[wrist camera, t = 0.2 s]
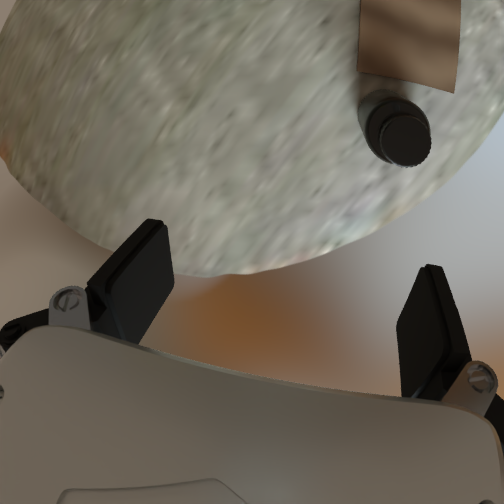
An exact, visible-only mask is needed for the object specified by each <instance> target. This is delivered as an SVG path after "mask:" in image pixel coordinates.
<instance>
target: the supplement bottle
mask: <svg viewBox="0 0 504 504" xmlns="http://www.w3.org/2000/svg"><path fill="white" fill-rule="evenodd" d="M358 121H359V124H360V127H361V130H362V132H363V134H364V137H365V139H366V142H367V144H368V146H369V148H370V149H371V151H372V152H373V153H374V154H375V155H376V156H377V157H378V158H380V159H381V160H383V161H385V162H387V163H390V164H395V165H396V166H400V167H406V168H408V167H413V166H417V165H418V164H421V162H423V161H424V160H425V158H427V156H428V154H429V153H430V149H431V144H432V143H431V137H430V135H431V131H430V125H429V122H428V119H427V117H426V115H425V114H424V112H423V111H422V110H421V109H420V108H419V107H418V106H417V105H416V104H414V103H413V102H411V101H410V100H408V99H406V98H405V97H403V96H402V95H400V94H398V93H396V92H394V91H391V90H376V91H373V92H371V93H370V94H368V95H367V96H366V97H365V98H364V99H363V100H362V102H361V104H360V106H359V110H358Z"/></svg>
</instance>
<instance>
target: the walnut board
mask: <svg viewBox="0 0 504 504" xmlns="http://www.w3.org/2000/svg"><path fill="white" fill-rule="evenodd" d="M460 21H461V0H361V1H360V28H359V45H358V60H357V71H358V72H364V73H370V74H376V75H381V76H386V77H391V78H396V79H400V80H405V81H409V82H413V83H417V84H421V85H425V86H429V87H433V88H436V89H440V90H443V91H447V92H450V93H453V94H454V90H455V82H456V74H457V64H458V54H459V40H460Z"/></svg>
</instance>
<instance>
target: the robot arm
mask: <svg viewBox="0 0 504 504" xmlns="http://www.w3.org/2000/svg"><path fill="white" fill-rule="evenodd" d="M87 285H88V286H87V287H86V288H85V290H84V289H83V288H81V287H79V286H68V287H65V288H62V289H60V290H59V291H57V292H56V293H55V294H54V295H53V296H52V298H51V299H50V302H49V308H48V309H44V310H41V311H38V312H35V313H32V314H29V315H26V316H23V317H20V318H17V319H14V320H12V321H9V322H8V323H6V324H5V325H4V326H3V328H2V329H1V331H0V504H504V400H503V399H501V397H500V396H499V395H497V394H496V392H497V388H498V379H497V376H496V374H495V372H494V371H493V369H492V368H491V367H490V366H489V365H487V364H485V363H484V362H481V361H472V358H471V354H470V350H469V346H468V343H467V339H466V335H465V332H464V328H463V325H462V322H461V318H460V316H459V312H458V309H457V307H456V305H455V302H454V299H453V296H452V293H451V290H450V287H449V284H448V281H447V279H446V276H445V273H444V271H443V268H442V267H441V266H437V265H431V264H426V266H425V267H421V268H420V270H419V272H418V275H417V277H416V280H415V282H414V285H413V287H412V290H411V292H410V294H409V296H408V299H407V301H406V303H405V305H404V308H403V310H402V312H401V314H400V316H399V318H398V321H397V325H396V332H397V341H398V352H399V364H400V377H401V393H402V394H401V395H402V397H396V396H387V395H378V394H369V393H361V392H353V391H345V390H338V389H331V388H324V387H318V386H312V385H305V384H300V383H294V382H288V381H283V380H278V379H273V378H267V377H262V376H258V375H252V374H248V373H243V372H239V371H234V370H230V369H226V368H221V367H217V366H213V365H209V364H205V363H201V362H197V361H194V360H190V359H186V358H182V357H178V356H175V355H171V354H168V353H164V352H161V351H157V350H154V349H151V348H147V347H144V346H140V345H138V344H139V342H140V340H141V339H142V337H143V336H144V334H145V332H146V331H147V329H148V328H149V326H150V324H151V323H152V321H153V319H154V318H155V316H156V315H157V313H158V311H159V310H160V308H161V307H162V305H163V304H164V302H165V300H166V299H167V297H168V296H169V294H170V292H171V291H172V289H173V287H174V274H173V267H172V260H171V252H170V244H169V236H168V228H167V226H166V225H164V223H163V221H161V220H155V219H146V220H145V221H144V222H143V223H142V224H141V225H140V226H139V227H138V228H137V229H136V230H135V231H134V232H133V233H132V234H131V235H130V237H129V238H128V239H127V240H126V241H125V242H124V243H123V244H122V245H121V246H120V247H119V248H118V249H117V250H116V251H115V252H114V253H113V255H111V257H110V258H109V259H108V260H107V261H106V262H105V263H104V264H103V265H102V266H101V268H100V269H99V270H98V271H97V272H96V273H95V274H94V275H93V276H92V277H91V279H90V280H89V281H88V282H87Z"/></svg>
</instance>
